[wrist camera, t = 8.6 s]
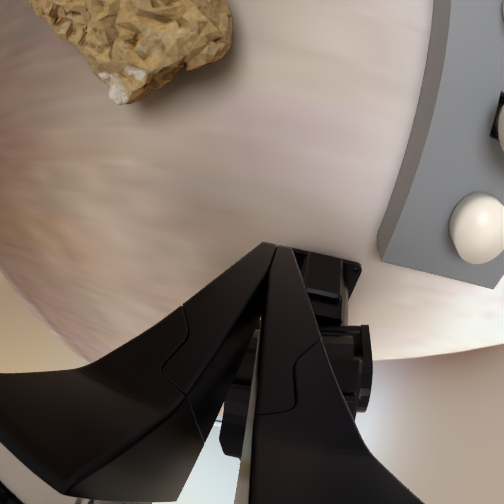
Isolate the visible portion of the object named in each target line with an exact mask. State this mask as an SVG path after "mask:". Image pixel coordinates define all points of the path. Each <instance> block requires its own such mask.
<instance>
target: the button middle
mask: <svg viewBox="0 0 504 504" xmlns="http://www.w3.org/2000/svg"><path fill="white" fill-rule="evenodd" d="M494 125H495V127H496V129H497V130H498V134H499V141H500V145H501V147H502V150H503V152H504V104H501V105H499V106H498V107H497V111H496V115H495V118H494Z"/></svg>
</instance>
